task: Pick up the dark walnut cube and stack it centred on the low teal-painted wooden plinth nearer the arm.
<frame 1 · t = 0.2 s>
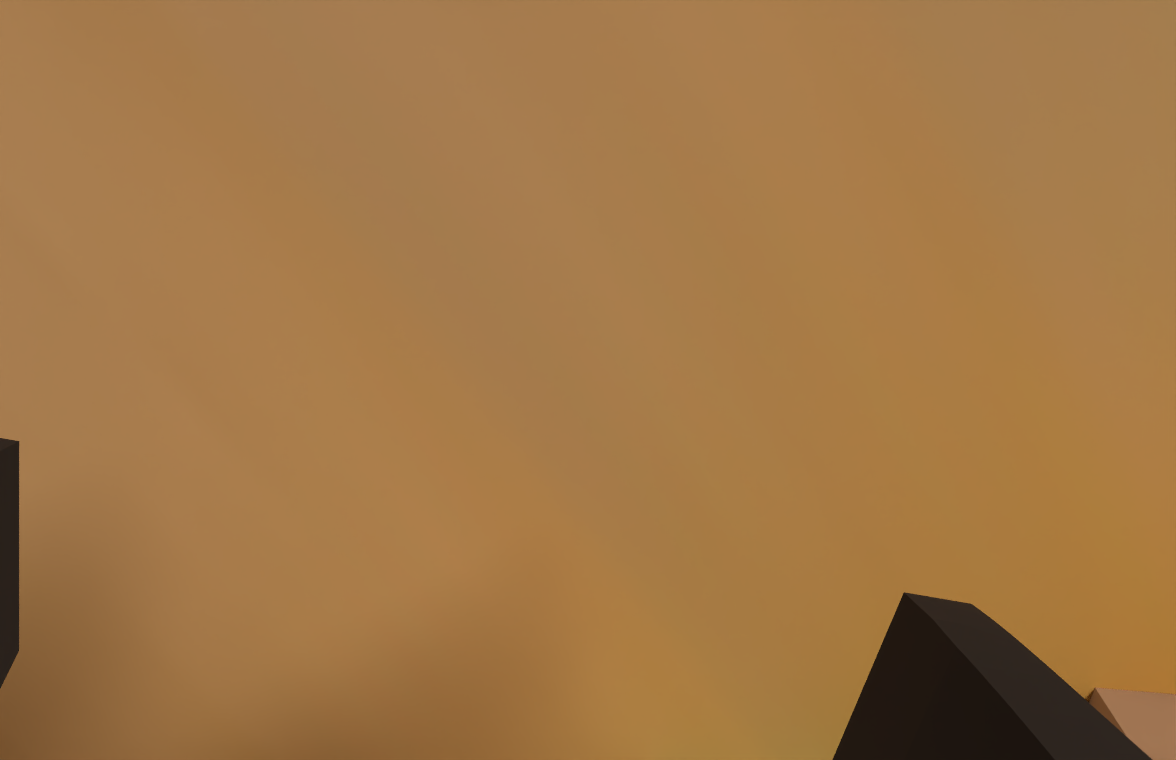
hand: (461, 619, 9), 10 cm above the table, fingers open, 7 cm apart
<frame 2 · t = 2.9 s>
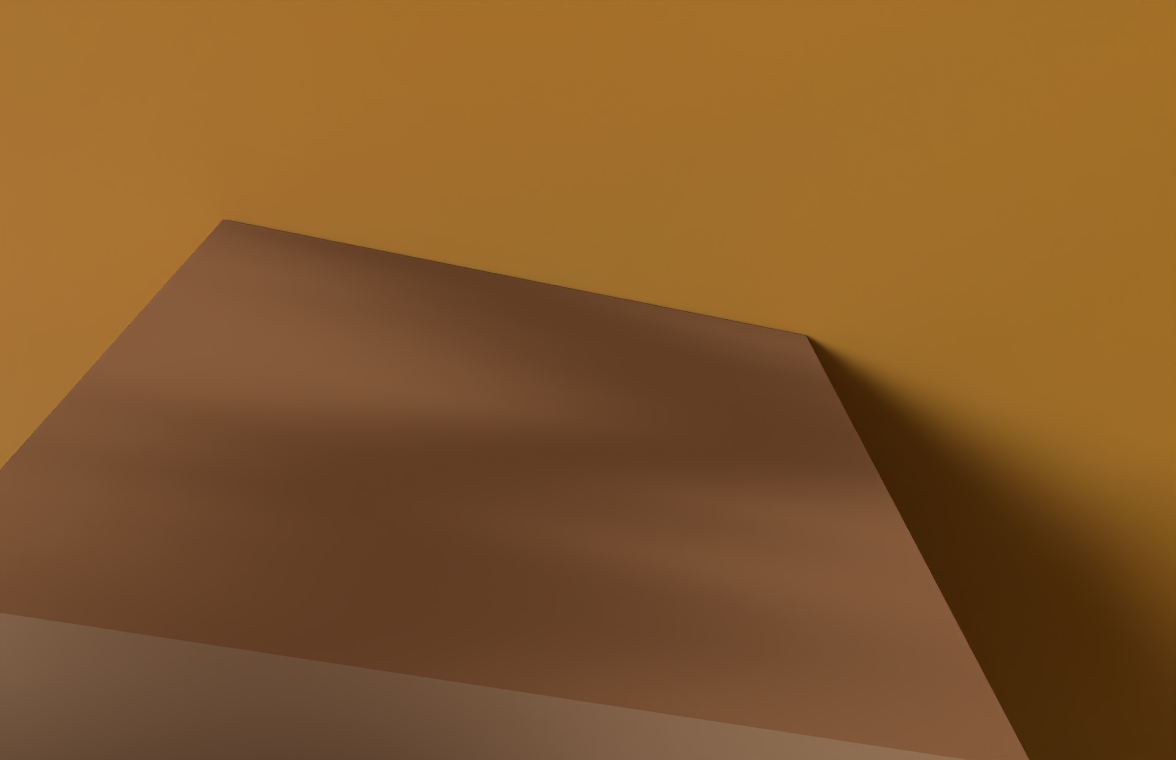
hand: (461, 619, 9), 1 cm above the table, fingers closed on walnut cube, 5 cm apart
walnut cube: (472, 523, 10), on the table, touching gripper
when the fingers open (6 cm above the table, at t = 5.7 s): walnut cube stays where it is, resting on teal plinth.
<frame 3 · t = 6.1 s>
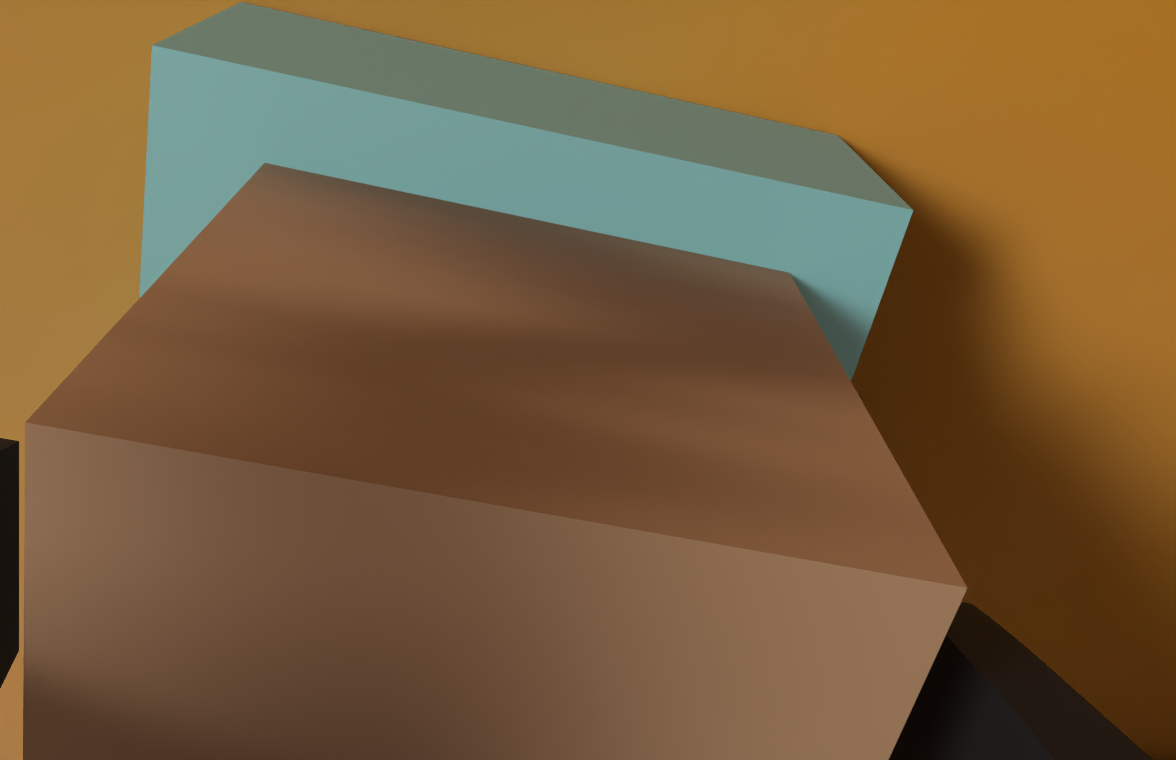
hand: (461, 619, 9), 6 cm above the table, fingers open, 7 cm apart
walnut cube: (485, 447, 11), point 3 cm above the table, touching teal plinth
teal plinth: (494, 343, 14), on the table
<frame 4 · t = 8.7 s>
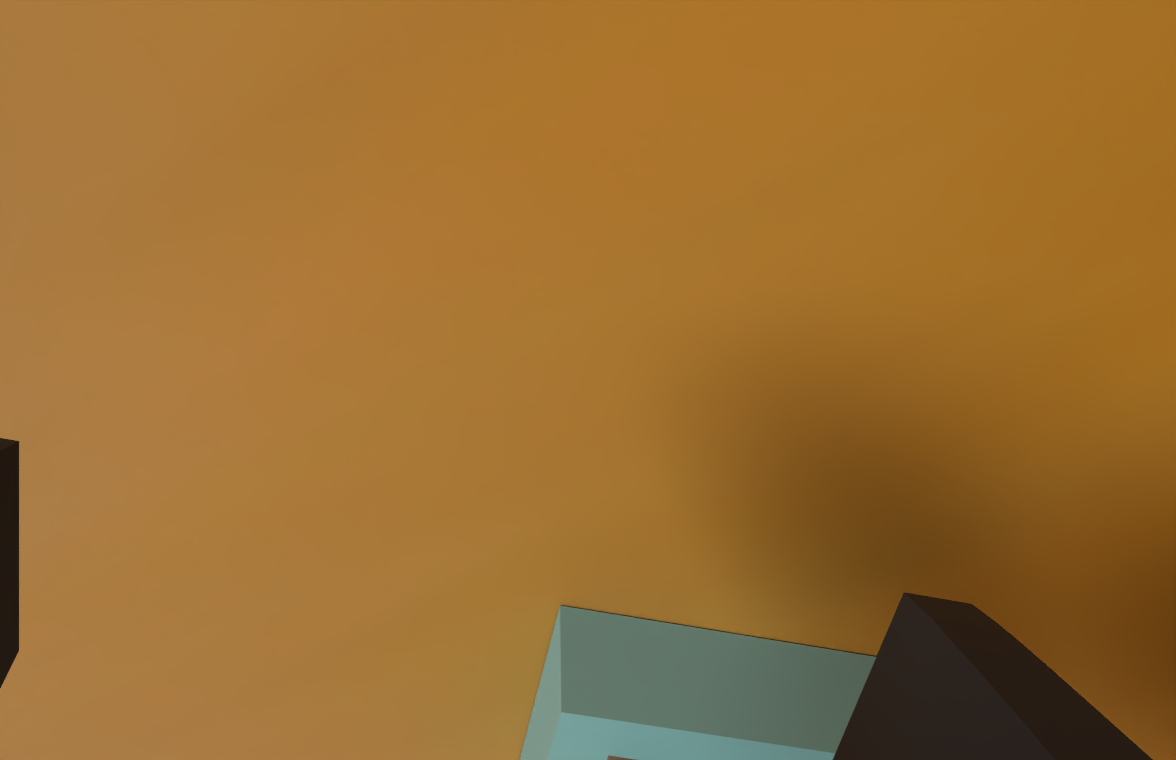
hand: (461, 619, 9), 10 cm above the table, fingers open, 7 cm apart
teal plinth: (684, 759, 24), on the table
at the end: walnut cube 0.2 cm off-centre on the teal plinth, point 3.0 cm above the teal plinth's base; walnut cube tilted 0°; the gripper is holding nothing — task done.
